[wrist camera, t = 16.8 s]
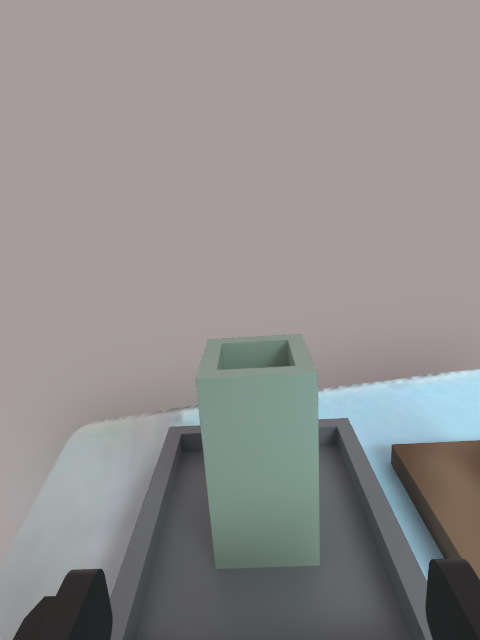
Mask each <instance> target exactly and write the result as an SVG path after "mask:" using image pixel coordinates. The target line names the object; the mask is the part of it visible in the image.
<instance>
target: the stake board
mask: <svg viewBox="0 0 480 640" xmlns="http://www.w3.org/2000/svg"><path fill="white" fill-rule="evenodd" d="M391 464H392V466H393V468H394V470H395V471H396V473H397V475H398V477H399V479H400V480H401V482H402V484H403V486H404V487H405V489H406V491H407V493H408V494H409V496H410V498H411V500H412V501H413V503H414V505H415V507H416V509H417V510H418V512H419V514H420V516H421V517H422V519H423V521H424V523H425V524H426V526H427V528H428V530H429V531H430V533H431V535H432V537H433V539H434V540H435V542H436V544H437V546H438V547H439V549H440V551H441V553H442V554H443V556H444V558H445V559H461V558H462V559H465V560H466V561H468V563H469V564H470V565H471V567H472V568H473V570H474V571H475V573H476V575H477V576H478V578H479V579H480V440H479V441H458V442H437V443H416V444H395V445H392V454H391Z"/></svg>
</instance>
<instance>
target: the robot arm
mask: <svg viewBox="0 0 480 640" xmlns="http://www.w3.org/2000/svg"><path fill="white" fill-rule="evenodd" d="M425 609H426V618H427V623H428V627H429V630H430V633H431V636H432V639H433V640H480V579H479V578H478V576H477V575H476V573H475V571H474V570H473V568H472V567H471V565H470V564H469V563H468V561H466V560H465V559H462V558H461V559H432V560H431V561H430V563H429V571H428V582H427V593H426V604H425ZM112 625H113V615H112V609H111V604H110V599H109V594H108V589H107V584H106V579H105V575H104V572H103V570H102V569H82V570H71V571H69V572H68V574H67V575H66V577H65V579H64V581H63V583H62V585H61V587H60V589H59V591H58V593H57V595H56V596H47V597H44V598H43V599H42V600H41V601H40V602H39V603H38V604H37V605H36V606H35V608H34V609H33V610H32V611H31V612H30V613H29V614H28V615H27V616H26V617H25V618H24V620H23V622H22V624H21V626H20V627H19V629H18V631H17V633H16V635H15V637H14V638H13V640H110V639H111V633H112Z"/></svg>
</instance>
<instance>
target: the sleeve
mask: <svg viewBox="0 0 480 640" xmlns="http://www.w3.org/2000/svg"><path fill="white" fill-rule="evenodd" d="M196 387H197V397H198V406H199V416H200V425H201V435H202V444H203V454H204V463H205V473H206V482H207V492H208V501H209V511H210V520H211V530H212V539H213V549H214V558H215V568H216V569H231V568H261V567H291V566H320V532H319V435H318V372H317V369H316V367H315V365H314V362H313V360H312V358H311V355H310V353H309V351H308V348H307V346H306V344H305V341H304V339H303V336H302V334H293V335H276V336H257V337H239V338H221V339H208V340H207V343H206V346H205V350H204V353H203V356H202V360H201V363H200V366H199V369H198V373H197V376H196Z"/></svg>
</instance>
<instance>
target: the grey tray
mask: <svg viewBox="0 0 480 640" xmlns="http://www.w3.org/2000/svg"><path fill="white" fill-rule="evenodd" d="M318 435H319V532H320V566H291V567H261V568H231V569H216V568H215V558H214V549H213V539H212V530H211V520H210V511H209V501H208V492H207V482H206V473H205V463H204V454H203V444H202V435H201V426H181V427H170V428H169V431H168V434H167V436H166V439H165V442H164V445H163V448H162V451H161V454H160V457H159V460H158V462H157V465H156V468H155V471H154V474H153V477H152V480H151V483H150V486H149V489H148V491H147V494H146V497H145V500H144V503H143V506H142V509H141V512H140V515H139V517H138V520H137V523H136V526H135V529H134V532H133V535H132V538H131V541H130V543H129V546H128V549H127V552H126V555H125V558H124V561H123V564H122V567H121V570H120V572H119V575H118V578H117V581H116V584H115V587H114V590H113V593H112V596H111V598H110V604H111V609H112V615H113V625H112V633H111V639H110V640H433V639H432V636H431V633H430V630H429V627H428V623H427V618H426V609H425V604H426V593H427V581H426V579H425V577H424V575H423V573H422V571H421V569H420V567H419V565H418V562H417V560H416V558H415V556H414V554H413V552H412V550H411V548H410V546H409V544H408V542H407V540H406V538H405V536H404V533H403V531H402V529H401V527H400V525H399V523H398V521H397V519H396V517H395V515H394V513H393V511H392V509H391V507H390V505H389V502H388V500H387V498H386V496H385V494H384V492H383V490H382V488H381V486H380V484H379V482H378V480H377V478H376V476H375V474H374V471H373V469H372V467H371V465H370V463H369V461H368V459H367V457H366V455H365V453H364V451H363V449H362V447H361V445H360V442H359V440H358V438H357V436H356V434H355V432H354V430H353V428H352V426H351V424H350V422H349V420H348V418H340V419H320V420H318Z"/></svg>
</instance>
